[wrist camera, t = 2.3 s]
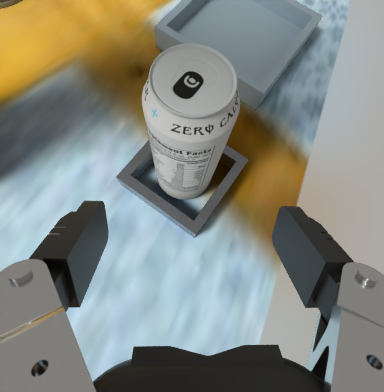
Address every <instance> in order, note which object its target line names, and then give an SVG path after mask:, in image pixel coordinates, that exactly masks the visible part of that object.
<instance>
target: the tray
mask: <svg viewBox="0 0 384 392" xmlns="http://www.w3.org/2000/svg"><path fill="white" fill-rule="evenodd" d="M321 18H322V15H320V14H318V13H316V12H315V11H313V10H311V9H309V8H307V7H306V6H304V5H302V4H300V3H299V2H297V1H295V0H182V1H181V2H180V3H179V4H178V5H177V6H176V7H175V8H174V9H173V10H172V11H170V12H169V13H168V14H167V15H166V16H165V17H164V18H163V19H162V20H161V21H160V22H159V23H158V24H157V25H156V26H155V34H156V45H157V48H158V49H160V50H161V51H164V50H166V49H168V48H170V47H172V46H175V45H178V44H185V43H196V44H202V45H206V46H209V47H211V48H213V49H215V50H217V51H219V52H220V53H222V54H223V55H224V56H225V57H226V58H227V59H228V60H229V61H230V62H231V64H232V65H233V67H234V69H235V72H236V75H237V90H238V93H239V98H240V100H241V101H242V102H244V103H245V104H247V105H248V106H250V107H252V108H253V109H255V110H256V108H257V107H258V106H259V104H260V103H261V102H262V100H263V99H264V98H265V96H266V95H267V94H268V92H269V91H270V90H271V88H272V87H273V86H274V84H275V83H276V82H277V80H278V79H279V78H280V76H281V75H282V74H283V72H284V71H285V70H286V68H287V67H288V66H289V64H290V63H291V62H292V60H293V59H294V58H295V56H296V55H297V54H298V52H299V51H300V50H301V48H302V47H303V46H304V44H305V43H306V42H307V40H308V39H309V38H310V36H311V35H312V33H313V31H314V29H315V28H316V26H317V24H318V23H319V21H320V19H321Z"/></svg>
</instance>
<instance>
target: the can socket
mask: <svg viewBox="0 0 384 392" xmlns="http://www.w3.org/2000/svg"><path fill="white" fill-rule="evenodd" d="M153 161H154V160H153V155H152V150H151V145H150V141H149V140H148V142H147V143H146V144H145V145H144V146H143V147H142V148H141V150H140V151H139V152H138V153H137V154H136V155H135V156H134V157H133V159H132V160H131V161H130V162H129V163H128V164H127V165H126V167H125V168H124V169H123V170H122V171H121V172H120V173H119V174H118V176H117V177H116V178H117V179H118V180H119V182H120V183H121V185H122V186H124V187H125V188H126V189H128V190H129V191H131V192H132V193H133V194H135V195H136V196H137V197H139V198H140V199H142V200H143V201H144V202H146V203H147V204H148V205H150V206H151V207H153V208H154V209H155V210H157V211H158V212H160V213H161V214H162V215H164V216H165V217H166V218H168V219H169V220H171V221H172V222H173V223H175V224H176V225H177V226H179V227H180V228H182V229H183V230H184V231H186V232H187V233H188V234H190V235H191V236H193V237H195V236H196V235H197V233H198V232H199V230H200V229H201V227H202V226H203V225H204V223H205V222H206V220H207V219H208V217H209V216H210V215H211V213H212V212H213V210H214V209H215V207H216V206H217V205H218V203H219V202H220V200H221V199H222V197H223V196H224V195H225V193H226V192H227V190H228V189H229V187H230V186H231V185H232V183H233V182H234V180H235V179H236V178H237V176H238V175H239V173H240V172H241V170H242V169H243V168H244V166H245V165H246V163H247V162H248V159H247V158H245V157H244V156H242V155H241V154H239V153H238V152H236V151H235V150H233V149H232V148H230V147H229V146H227V145H225V148H224V150H223V152H222V155H221V157H220V159H219V162H220V163H221V164H223V165H224V166H225V167H227V168H228V169H230V171H229V172H228V174H227V175H226V177H225V178H224V179H223V181H222V182H221V184H220V185H219V186H218V188H217V189H216V190H215V192H214V193H213V195H212V196H211V197H210V199H209V200H208V202H207V203H206V204H205V206H204V207H203V209H202V210H201V211H200V213H199V214H198V216H197V217H196V218H195V220H194V221H193V220H192V219H191V218H189V217H188V216H186V215H185V214H184V213H182V212H181V211H179V210H178V209H177V208H175V207H174V206H172V205H171V204H170V203H168V202H167V201H165V200H164V199H163V198H161V197H160V196H159V195H157V194H156V193H154V192H153V191H152V190H150V189H149V188H147V187H146V186H145V185H143V184H142V183H140V182H139V181H138V178H139V177H140V176H141V175H142V174H143V172H144V171H145V170H146V169H147V168H148V167H149V165H150V164H151V163H152V162H153Z"/></svg>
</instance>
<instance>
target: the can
mask: <svg viewBox="0 0 384 392" xmlns="http://www.w3.org/2000/svg"><path fill="white" fill-rule="evenodd" d="M20 1H22V0H0V9H1V8H6V7H9V6H12V5H14V4H17V3H18V2H20Z"/></svg>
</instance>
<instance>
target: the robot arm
mask: <svg viewBox="0 0 384 392" xmlns="http://www.w3.org/2000/svg"><path fill="white" fill-rule="evenodd" d="M107 240H108V225H107V218H106V211H105V205H104V202H103V201H84V202H83V203H82V204H81V206H80V207H79V208H78V210H77V211H76V212H70V213H68V214H67V215H65V216H64V217H62V218H61V219H60V220H59V221H58V222H57V224H56V225H55V226H54V228H53V229H52V230H51V231H50V233H49V235H47V236H46V238H45V239H44V240H43V241H42V243H41V244H40V245H39V246H38V248H37V249H36V250H35V252H34V253H33V254H32V255H31V257H30V258H29V259H28V260H23V261H20V262H17V263H14V264H12V265H10V266H8V267H7V268H5V269H4V270H2V271H1V272H0V392H384V275H383V274H381V273H380V272H379V271H377V270H375V269H373V268H372V267H369V266H367V265H364V264H361V263H355V262H354V261H353V260H352V259H351V258H350V257H349V256H348V255H347V253H346V252H345V251H344V250H343V249H342V248H341V247H340V246H339V244H338V243H337V242H336V241H335V240H333V238H332V237H331V235H329V234H328V232H327V231H326V230H325V229H324V228H323V227H322V225H321V224H319V223H318V222H316V221H315V220H313V219H312V218H309V217H308V216H307V215H306V214H305V213H304V211H303V210H302V209H301V208H300V207H294V206H282V207H281V208H280V209H279V212H278V215H277V219H276V223H275V226H274V230H273V234H272V242H273V246H274V248H275V250H276V252H277V254H278V256H279V257H280V259H281V261H282V263H283V265H284V267H285V269H286V271H287V273H288V275H289V277H290V279H291V281H292V282H293V284H294V286H295V288H296V290H297V292H298V294H299V296H300V298H301V300H302V302H303V304H304V306H305V308H319V310H320V314H319V316H318V319H317V323H316V327H315V331H314V336H313V340H312V344H311V349H310V353H309V357H308V361H307V363H306V366H305V367H303V366H301V365H299V364H298V363H296V362H293V361H291V360H288V359H286V358H282V355H281V352H280V349H279V346H278V345H243V346H240V347H237V348H233V349H230V350H227V351H224V352H221V353H218V354H214V355H211V356H205V355H201V354H197V353H194V352H190V351H186V350H183V349H179V348H175V347H171V346H146V347H134V348H133V354H132V359H130V360H127V361H124V362H122V363H120V364H118V365H116V366H114V367H112V368H110V369H109V370H107V371H106V372H104V373H103V374H102V375H100V376H99V377H98V378H96V379H95V380H94V381H93V382H92V379H91V377H90V374H89V372H88V369H87V366H86V364H85V361H84V359H83V356H82V353H81V351H80V348H79V346H78V343H77V340H76V338H75V335H74V333H73V330H72V327H71V325H70V322H69V320H68V317H67V314H66V311H67V309H68V307H80V306H81V303H82V301H83V299H84V296H85V294H86V292H87V289H88V287H89V284H90V282H91V280H92V277H93V275H94V272H95V270H96V268H97V265H98V263H99V261H100V258H101V256H102V253H103V251H104V249H105V246H106V244H107Z"/></svg>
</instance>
